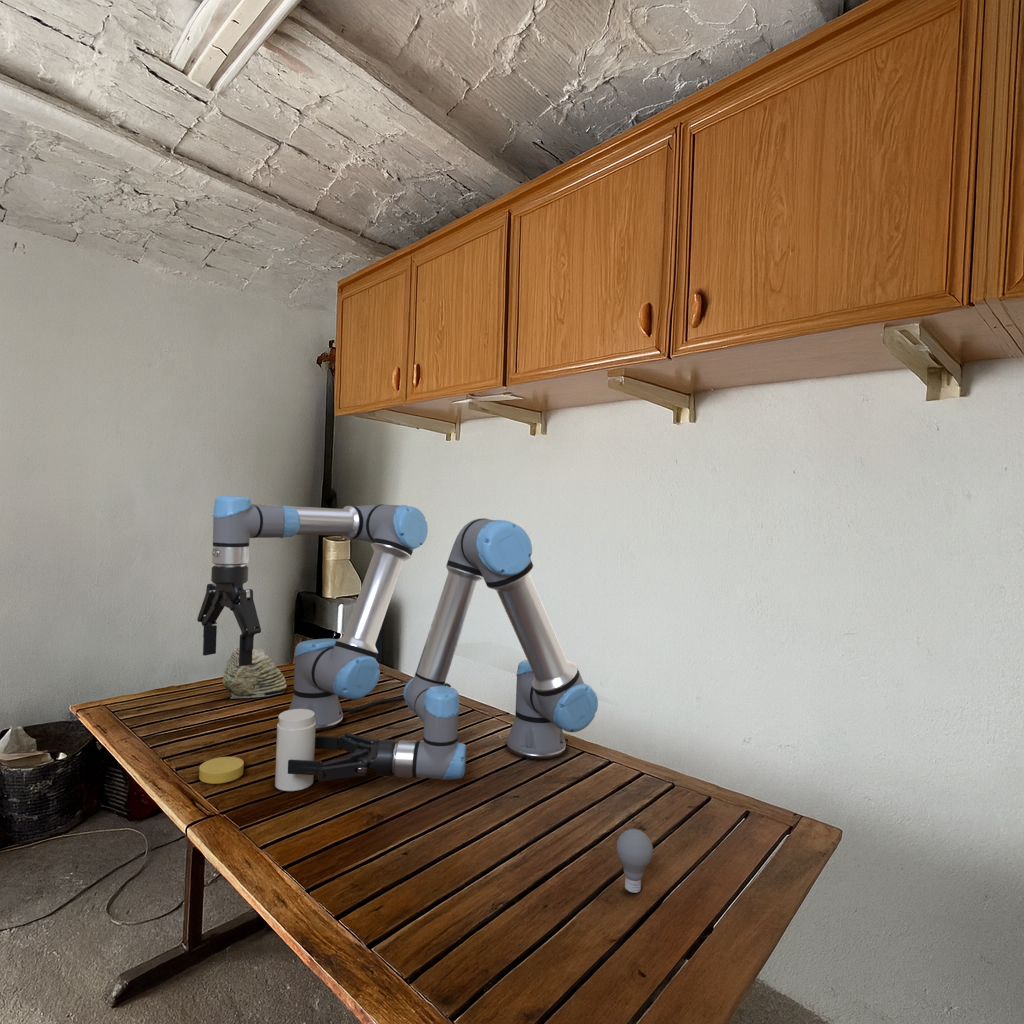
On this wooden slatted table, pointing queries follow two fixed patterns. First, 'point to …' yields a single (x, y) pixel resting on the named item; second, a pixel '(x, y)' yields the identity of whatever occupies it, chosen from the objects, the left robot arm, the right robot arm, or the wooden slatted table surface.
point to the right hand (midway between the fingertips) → (299, 753)
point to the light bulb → (634, 857)
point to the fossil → (253, 676)
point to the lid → (221, 770)
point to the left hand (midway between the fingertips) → (226, 659)
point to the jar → (294, 747)
